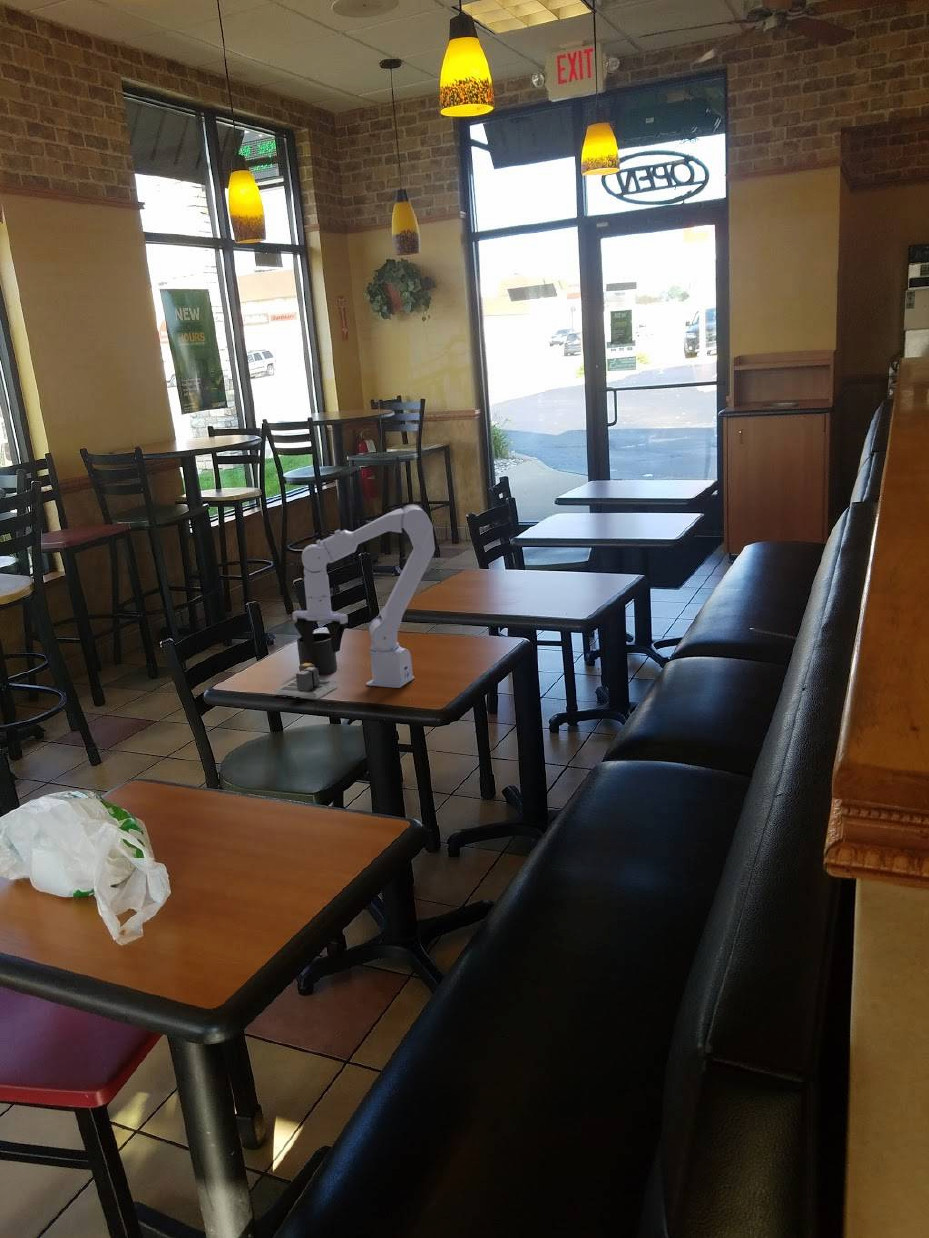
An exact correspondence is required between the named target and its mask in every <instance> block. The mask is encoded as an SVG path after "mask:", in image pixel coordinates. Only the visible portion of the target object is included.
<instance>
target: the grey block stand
mask: <svg viewBox="0 0 929 1238" xmlns="http://www.w3.org/2000/svg"><path fill="white" fill-rule="evenodd" d="M335 689H338V682H337V681H335V680H324V679H320V676H319V672H318V668H311V667H308V668H306V669H304V670H303V671H301V672H300V671H299V672H297V673H295V678H294V679H291V680H290V681H288V682H287V683H285V684H283V685H281V686H279V687H277V688H275V689H274V695H275V694H281V695H288V696H289V695H290V696H295V697H294V698H296V697H300V699H309V700H319V699H320V698H323V697H324V696H325V695H327V694H328V693H330V692H332V691H334V690H335Z"/></svg>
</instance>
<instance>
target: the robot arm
mask: <svg viewBox="0 0 929 1238" xmlns="http://www.w3.org/2000/svg"><path fill="white" fill-rule="evenodd" d="M433 526H434V525H433V523H432V521H431V520H430V517H429V516H428V514H427V512H426V511H424V509H423V508H422V507H421V506H419V505H416V504H407V505H405V506H404V507H403V508H397V509H394V510H391V512H388V513H386V514H384V515H382V516H380V517H378V518H376V519H374V520H373V521H371V522H369V523H367V524H365V525H363V526H361V527H359V528H357V529H355V530H354V531H349V530H347V529H343V530H341V529H337V530H335V531H334V534H333V535H331V536H328V537H326V538H324V539H322V540H321V539H317V540H316V541H315V542H316V544H315V543H314V544H313V543H312V544H308V545H307V546H305V547H304V549H303V550H302V553H301V557H300V558H301V562H302V563H301V564H302V565H303V575H304V577H303V582H304V583H303V584H304V593H305V603H306V610H295V611H293V612H292V620H293V621H296V622H294V628H296V631H298V633H299V635H300V637H302V639H303V641H304V644H305V646H306V649H307V650H310V649H312V648H314V639H313V633H314V626H315V625H314V624H315V622H325V623H329V624H328V625H326V628H327V631H328V633H329V634H330V638H331V645H332V651H333V652H334V653H336V654H337V652H340V650H341V644H342V639H343V635H344V633H345V630H346V627H347V625H348V622H349V620H348V614H347V613H342V612H338V611H337V612H336V611H333V610H332V602H331V593H330V581H329V575H328V573H327V566H328V564H332V563H335V562H336V561H338V560H341V559H343V558H345V557H347V556H349V555H350V554H353V553H355V552H356V551H357V548H358V545H359V544H362V543H364V542H366V541H369V540H371V539H374V538H376V537H379V536H381V535H383V534H384V533H388V532H393V533H400V534H402V533H403V531H402V530H403V529H404V531H405V532H406V533H407V535H408V537H409V540H410V542H411V545H412V547H413V549H412V551H411V552H410V554H409V556H408V559H407V561H405V565H404V566H403V569H402V570H401V572H400V575H399V577H398V579H397V581H396V583H395V585H394V587H393V588H392V591H391V593H390V595H389V596H388V599H387V601H386V603H385V605H384V606H383V607H382V609H381V610H380V612H379V613H378V615H377V616H376V617H374V618H373V619H372V620H371V621H370V623H369V626H368V633H369V635H370V640H371V644H370V645H369V654H370V655H369V656H370V664H371V667H370V668H371V675H372V679H371V680H369V681H367V682H366V683H365V685H366V686H373V687H382V688H396V689H400V688H402V687H403V686H404V685H406V684H408V683H409V682H410V681H412V680H414V679H415V676H414V673H413V666H412V655H411V653H410V650H409V649H407V648H404V647H401V646H400V643H399V642H398V632H399V630H400V627H401V625H402V621H403V620H402V619H403V616H404V614H405V611H406V610H407V608H408V606H409V604H410V602H411V600H412V598H413V596H414V594H415V592H416V590H417V588H418V586H419V584H420V582H421V579H422V577H423V576H424V574H425V572H426V570H427V568H428V566H429V563H430V561H431V559H432V558H433V555H434V553H435V550H436V545H435V537H434V527H433Z"/></svg>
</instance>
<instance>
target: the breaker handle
mask: <svg viewBox="0 0 929 1238" xmlns="http://www.w3.org/2000/svg"><path fill="white" fill-rule="evenodd" d="M308 667H311V668H315V666H314V664H311V663H304V664H302V665H300V664H299V667H298V670H299V672H301V671H303V670H304V669H306V668H308Z"/></svg>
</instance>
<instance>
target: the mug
mask: <svg viewBox="0 0 929 1238" xmlns="http://www.w3.org/2000/svg"><path fill="white" fill-rule="evenodd" d="M313 639H314V648H312V649H310V650H307V649H306V646H305V644H304V641H303V639H302V637H301V636H299V637H298V638H297V639H296V645H297V651H298V659H299V660H298V661H299V666H300V665H302V664H304V663H311V664H314V666H315V668H318V672H319V677H322V676H327V675H330V674H332V673H333V674H334V673H335V672H336V671H337V669H338V663H337V652H336V653H334V652H333V651H332V645H331V638H330V634H329V632H315V633H314V632H313Z"/></svg>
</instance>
